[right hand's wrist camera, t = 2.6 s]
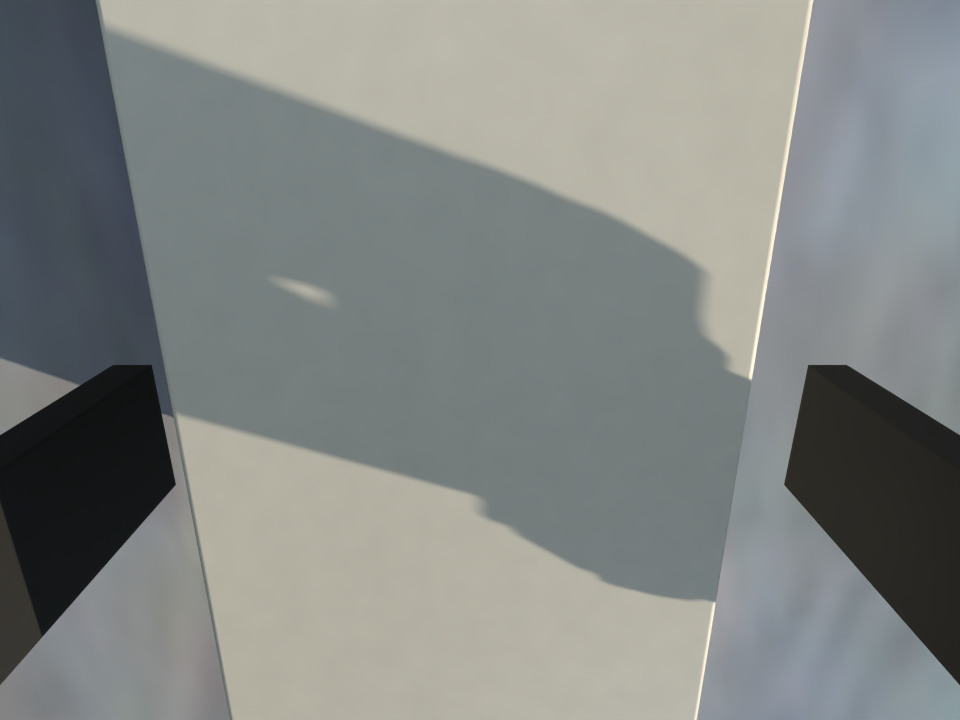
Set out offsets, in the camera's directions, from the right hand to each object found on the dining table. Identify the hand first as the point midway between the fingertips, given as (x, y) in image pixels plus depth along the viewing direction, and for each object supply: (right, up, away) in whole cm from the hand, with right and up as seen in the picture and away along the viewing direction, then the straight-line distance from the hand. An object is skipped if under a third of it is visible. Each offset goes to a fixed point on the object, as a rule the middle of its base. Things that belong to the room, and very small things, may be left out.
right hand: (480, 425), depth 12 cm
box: (0, +9, +2) cm, 9 cm away
